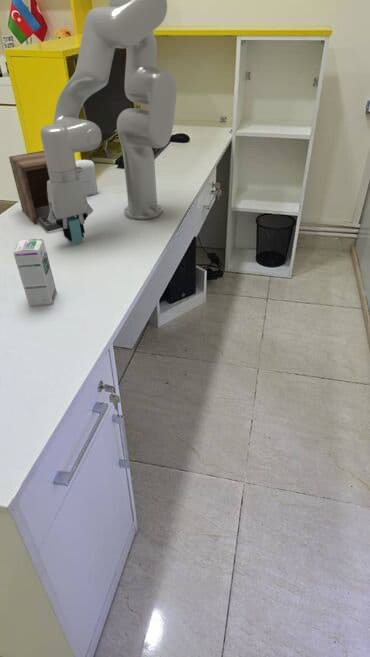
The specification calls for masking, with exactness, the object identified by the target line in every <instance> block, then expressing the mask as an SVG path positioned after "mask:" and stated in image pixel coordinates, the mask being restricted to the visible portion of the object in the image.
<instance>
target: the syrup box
mask: <svg viewBox="0 0 370 657" xmlns="http://www.w3.org/2000/svg"><path fill="white" fill-rule="evenodd" d="M46 249H47V248H46V244H45V240H44V239H43V238H30V239H24V240H23V239H22V240H18V243H17V244H16V246H15V248H14V250H13V252H12V253H13V257H14V260H15V264H16V266H17V267H16V268H17V270H18V273H19V277H20V280H21V281H20V282H21V283H22V286H23V290H24V294H25V297H26V299H27V300H26V301H27V303H28V306H48V305H53V304H54V300H55V298H56V294H57V287H56V284H55V280H54V276H53V273H52V272H53V271H52V268H51V265H50V261H49V256H48V253H47V252H48V251H47V250H46Z"/></svg>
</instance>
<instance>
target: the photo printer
mask: <svg viewBox="0 0 370 657" xmlns="http://www.w3.org/2000/svg"><path fill="white" fill-rule="evenodd" d="M75 162H76V166H77V167H81V168H82V172H80V173H79V174H78V175H79V177H80V178H81V181H82V183H83V186H84V190H85V193H86V197H88V196H93V195H97V194H98V193H99V190H98V183H97V175H96V168H95V163H94V161H92V160H90V159H79V160H75Z"/></svg>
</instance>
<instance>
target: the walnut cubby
mask: <svg viewBox="0 0 370 657" xmlns="http://www.w3.org/2000/svg"><path fill="white" fill-rule="evenodd" d="M8 158H9V159H8V160H9V164H10V166H11V171H12V174H13V178H14V183H15V186H16V191H17V195H18V199H19V201H20V207H21V209H22V212H23V214H24V215H26V217H27V218H28V219H29V220H30V221H31V223H33V224H34V225H35V226H36V225H38V224H39V223H38V222H39V221H38V219H37V214H36V211H35V210H38V209H41V208H46V207H49V202H48V200H47V198H46V195H47V194H48V193H47V181H49V180H50V178H49V173H48V169H47V164H46V159H45V154H44V150H39V151H33V152H29V153H23V154H17V155H10V156H8Z"/></svg>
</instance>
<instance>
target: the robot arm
mask: <svg viewBox="0 0 370 657" xmlns="http://www.w3.org/2000/svg"><path fill="white" fill-rule="evenodd" d="M108 4H109V6H99V7H94V8H92V9H90V10H89V11H88V12H87V14H86V16H85V20H84V25H83V30H82V34H81V40H80V46H79V51H78V55H77V61H76V67H75V70H74V72H73V75H72V76H71V77H70V78H69V80H68V81H67V83H66V84H65V86H64V87H63V89H62V91H61V92H60V95H59V96H58V99H57V101H56V104H55V105H56V106H55V109H54V116H53V121H52V123H53V124H52V123H51V124H48V125H45V126H42V127H41V129H40V139H41V143H42V149H43V151H44V154H45V159H46V164H47V169H48V173H49V178H50V180H49V181H47V193H48V202H49V206H48V207H49V213H48V215H49V216H48V221H49V222H50V224H53V223H56V224H58V225H60V226H61V227H62V228H61V229H62V231H63V236H64V238H65V239H67V240H68V241H69V242H70V241H71V240H72V238H71V233H70V228H69V227H68V225H67V218H68V217H72V216H76V217H77V218H78V219H79V222H80V228H81V233H82V239H83V238H84V237H85V236H84V234H85V226H84V224H85V221H86V220H87V218H88V216H90V215H91V214H92V213H93V212H94V209H93V208H92V206H90V204H89V202H88V199H87V197H88V196H86V193H85V190H84V186H83V183H82V181H81V178H80V177H79V175H78V174H79V173H80V172H82V168H81V167H77V166H76V162H75V161H76V158H75V157H76V156H75V153H81V152H82V153H84V152H91V151H93V150H95V149H97V148H98V147H99V146H100V144H101V143H102V139H103V134H102V131H101V128H100V127H99V125H97V124H96V123H95V122H93V121H92V120H91V121H90V120H88V119H81V118H79V114H80V113H81V112H80V111H81V110H82V107H83V105H84V103H85V102H86V101H87V99H88V98H89V97H92V95H94V94H95V93H97V92H99V91H100V90H102V89H103V88H104V87H106V86H107V85H108V83H109V78H110V74H111V69H112V64H113V60H114V56H115V50H116V49H126V56H125V57H126V60H125V72H124V94H125V96H126V98H127V99H128V101H131V102H133V103H136V104H139V105H145V106H148V110H147V109H142V108H138V107H137V108H136V107H130V108H125V109H124V110H122V111H121V112H120V113H119V114H118V117H117V119H116V131H117V134H118V139H119V142H120V145H121V146H120V147H121V150H122V157H123V165H124V167H123V168H124V175H125V176H124V178H125V186H126V187H125V188H126V196H127V204H128V205H127V206H126V207H125V208H124V209H123V210H124V212H123V213H124V215H125V217H127V218H130V219H133V220H140V221H141V220H150V219H153V218H156V217H159V216H160V215H161V214H162V213H163V206H161V205H160V204H159V203H158V198H157V197H158V195H157V194H158V193H157V181H156V180H157V179H156V165H155V154H154V151H153V148H154V149H161V148H164V147H165V146H167V144H168V143H169V142H170V140H171V137H172V134H173V127H174V119H175V110H176V104H177V103H176V102H177V92H178V91H177V84H176V80H175V77H174V75H173V74H172V73H171V71H169V69H166V68H163V67H157V62H158V61H157V60H158V58H157V57H158V56H157V55H158V43H157V39H156V36H155V34H154V31H155V30H156V29H157V28H159V27H160V26H161V25H162V24H163V23H164V20H165V18H166V15H167V12H168V1H167V0H109V3H108ZM54 217H55V218H54ZM59 219H60V220H59Z"/></svg>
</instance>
